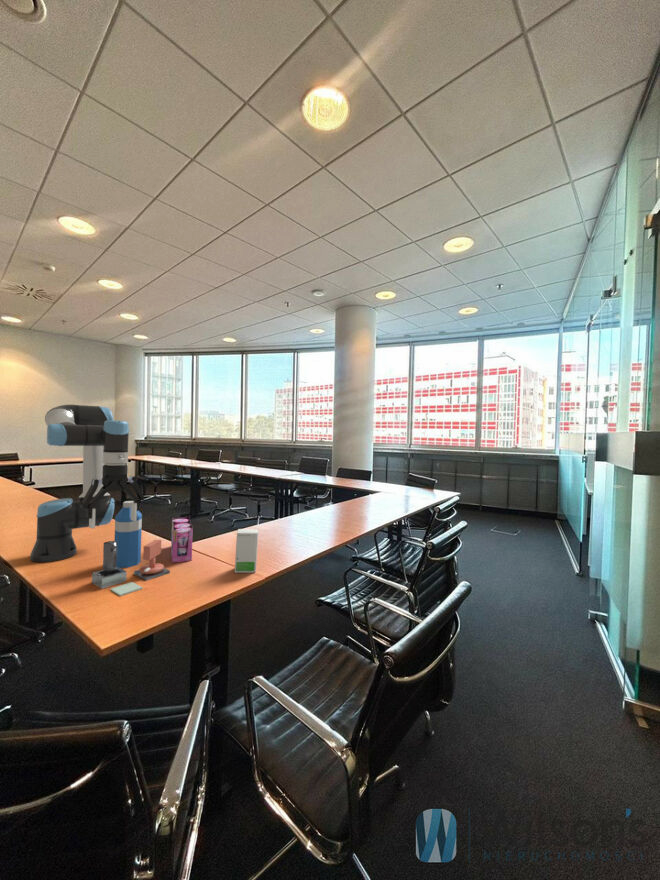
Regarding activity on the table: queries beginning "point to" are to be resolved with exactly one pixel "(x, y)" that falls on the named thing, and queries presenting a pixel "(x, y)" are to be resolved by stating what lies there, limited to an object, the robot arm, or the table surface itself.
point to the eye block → (109, 578)
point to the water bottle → (128, 537)
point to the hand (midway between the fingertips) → (113, 523)
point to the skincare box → (246, 551)
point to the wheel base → (151, 576)
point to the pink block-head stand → (152, 558)
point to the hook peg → (109, 558)
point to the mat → (126, 588)
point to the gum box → (181, 539)
